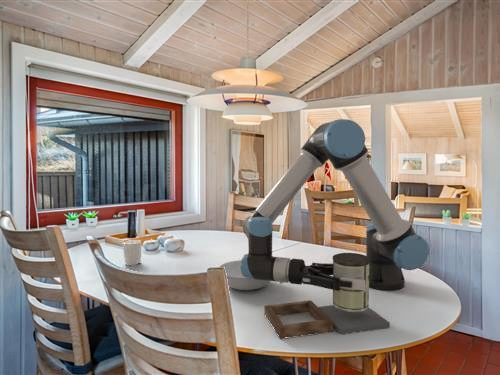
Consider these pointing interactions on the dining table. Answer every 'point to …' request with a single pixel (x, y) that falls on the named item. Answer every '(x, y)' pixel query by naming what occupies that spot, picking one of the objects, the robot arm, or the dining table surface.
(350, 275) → the coffee can
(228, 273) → the serving bowl
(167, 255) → the dining table surface
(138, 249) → the white cup
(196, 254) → the dining table surface
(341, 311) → the rubber mat
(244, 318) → the dining table surface
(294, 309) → the walnut collar
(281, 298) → the dining table surface
